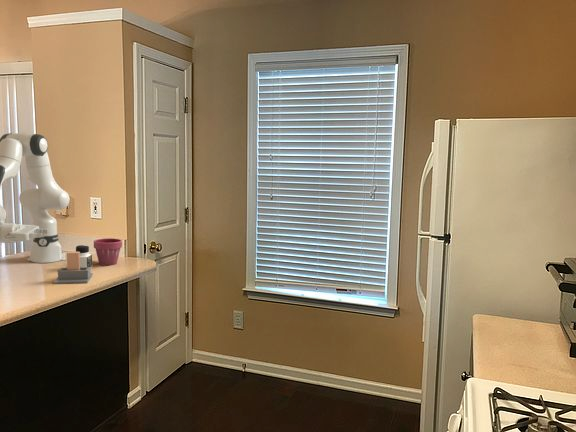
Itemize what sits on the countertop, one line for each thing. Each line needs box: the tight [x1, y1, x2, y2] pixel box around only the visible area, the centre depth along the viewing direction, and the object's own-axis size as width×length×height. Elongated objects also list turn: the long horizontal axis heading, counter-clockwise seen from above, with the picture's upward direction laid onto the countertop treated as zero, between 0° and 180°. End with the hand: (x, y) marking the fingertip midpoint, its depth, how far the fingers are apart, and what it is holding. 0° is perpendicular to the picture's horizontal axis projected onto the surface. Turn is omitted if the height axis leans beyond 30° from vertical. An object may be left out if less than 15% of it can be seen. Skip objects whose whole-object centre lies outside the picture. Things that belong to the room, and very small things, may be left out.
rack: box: [53, 266, 93, 285], centre depth 214 cm, size 14×14×5 cm
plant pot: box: [93, 237, 123, 266], centre depth 246 cm, size 14×14×13 cm
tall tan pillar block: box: [66, 251, 80, 270], centre depth 214 cm, size 3×5×12 cm, turn 103°
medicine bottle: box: [75, 244, 93, 268], centre depth 234 cm, size 7×7×12 cm
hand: (44, 233), depth 209 cm, fingers open, 8 cm apart
